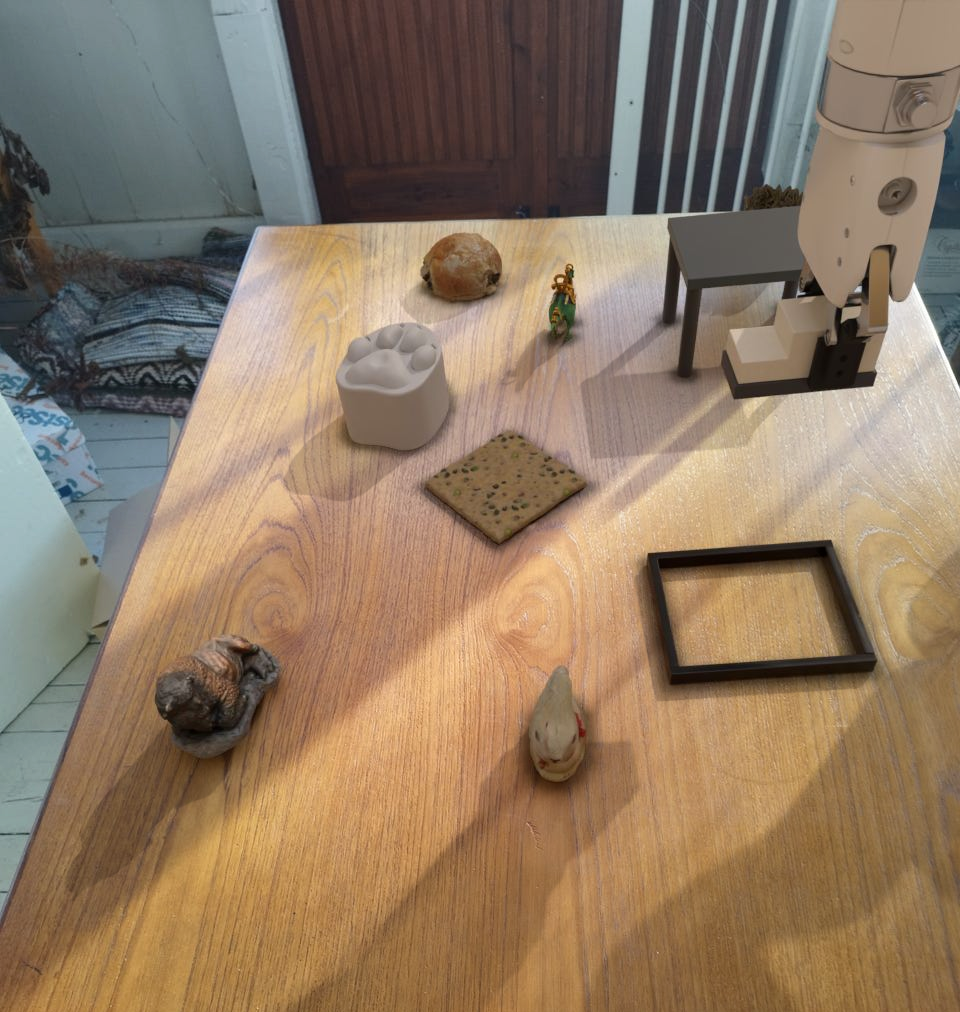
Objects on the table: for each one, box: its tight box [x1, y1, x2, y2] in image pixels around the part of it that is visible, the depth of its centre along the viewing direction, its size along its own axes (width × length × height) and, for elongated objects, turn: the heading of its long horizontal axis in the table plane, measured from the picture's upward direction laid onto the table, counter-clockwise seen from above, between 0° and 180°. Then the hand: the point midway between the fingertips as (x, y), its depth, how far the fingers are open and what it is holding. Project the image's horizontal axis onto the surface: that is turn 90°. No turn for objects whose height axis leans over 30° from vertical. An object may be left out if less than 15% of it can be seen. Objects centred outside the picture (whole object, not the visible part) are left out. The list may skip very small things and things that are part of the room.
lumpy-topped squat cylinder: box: [334, 321, 450, 451], centre depth 95 cm, size 10×13×9 cm
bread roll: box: [419, 231, 503, 302], centre depth 112 cm, size 10×10×8 cm
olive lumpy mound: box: [743, 183, 804, 211], centre depth 108 cm, size 8×7×8 cm
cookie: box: [424, 429, 587, 545], centre depth 88 cm, size 12×12×1 cm
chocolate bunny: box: [528, 664, 588, 783], centre depth 66 cm, size 6×8×10 cm
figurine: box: [548, 263, 578, 341], centre depth 101 cm, size 3×12×8 cm, turn 166°
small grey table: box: [661, 206, 805, 379], centre depth 96 cm, size 16×13×12 cm
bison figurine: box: [154, 633, 282, 760], centre depth 70 cm, size 12×7×10 cm, turn 168°
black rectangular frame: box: [646, 539, 878, 685], centre depth 76 cm, size 17×14×2 cm
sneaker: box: [720, 295, 890, 401], centre depth 62 cm, size 10×4×5 cm, turn 92°
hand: (819, 362), depth 64 cm, fingers closed on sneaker, 4 cm apart
